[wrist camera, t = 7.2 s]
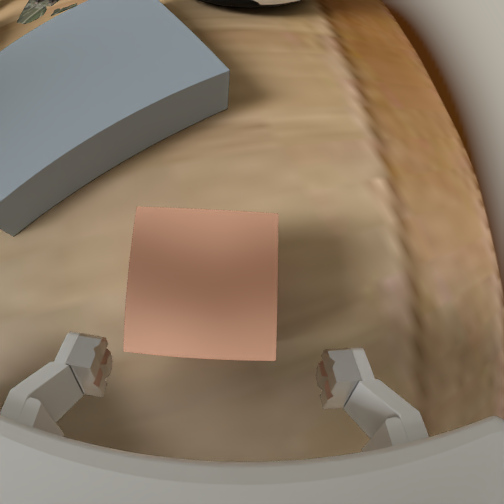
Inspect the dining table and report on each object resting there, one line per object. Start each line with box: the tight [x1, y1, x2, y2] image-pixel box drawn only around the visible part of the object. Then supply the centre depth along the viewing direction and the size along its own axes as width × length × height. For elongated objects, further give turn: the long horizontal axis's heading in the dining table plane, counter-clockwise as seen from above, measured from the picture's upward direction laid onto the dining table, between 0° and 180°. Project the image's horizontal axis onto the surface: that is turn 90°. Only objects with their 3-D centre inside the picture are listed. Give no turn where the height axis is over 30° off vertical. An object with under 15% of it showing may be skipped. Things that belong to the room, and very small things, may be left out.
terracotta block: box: [123, 207, 278, 361], centre depth 14 cm, size 5×5×8 cm
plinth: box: [0, 0, 230, 236], centre depth 19 cm, size 18×18×4 cm
